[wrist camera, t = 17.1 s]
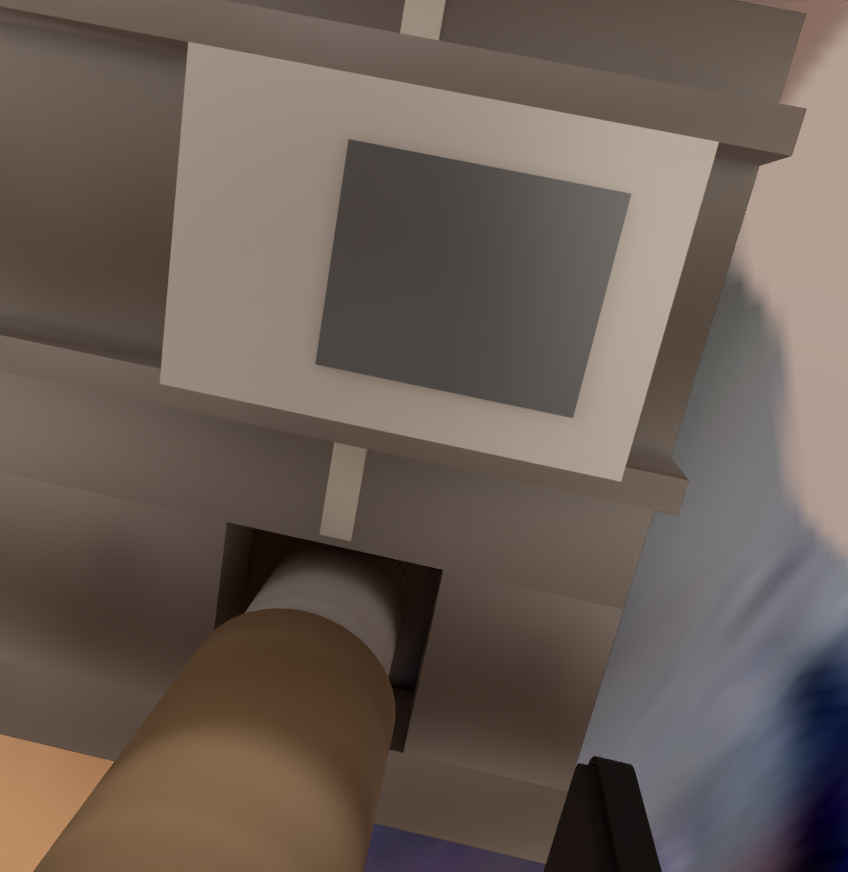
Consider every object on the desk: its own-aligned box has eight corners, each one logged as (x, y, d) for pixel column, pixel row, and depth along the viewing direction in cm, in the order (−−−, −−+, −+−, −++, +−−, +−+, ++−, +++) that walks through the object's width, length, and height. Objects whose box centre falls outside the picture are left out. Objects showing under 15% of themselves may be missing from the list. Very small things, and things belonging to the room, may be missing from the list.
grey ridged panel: (-220, -128, 13) (-446, -246, 10) (756, 51, 12) (846, -17, 9) (-174, 625, 17) (-320, 707, 14) (540, 791, 16) (550, 917, 13)
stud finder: (271, 97, 11) (182, 38, 8) (657, 171, 10) (723, 139, 7) (242, 350, 12) (153, 386, 9) (589, 423, 12) (623, 485, 8)
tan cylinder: (273, 500, 15) (-115, 944, 5) (434, 535, 15) (324, 1055, 5) (253, 642, 16) (-104, 1226, 6) (404, 676, 16) (266, 1327, 6)
